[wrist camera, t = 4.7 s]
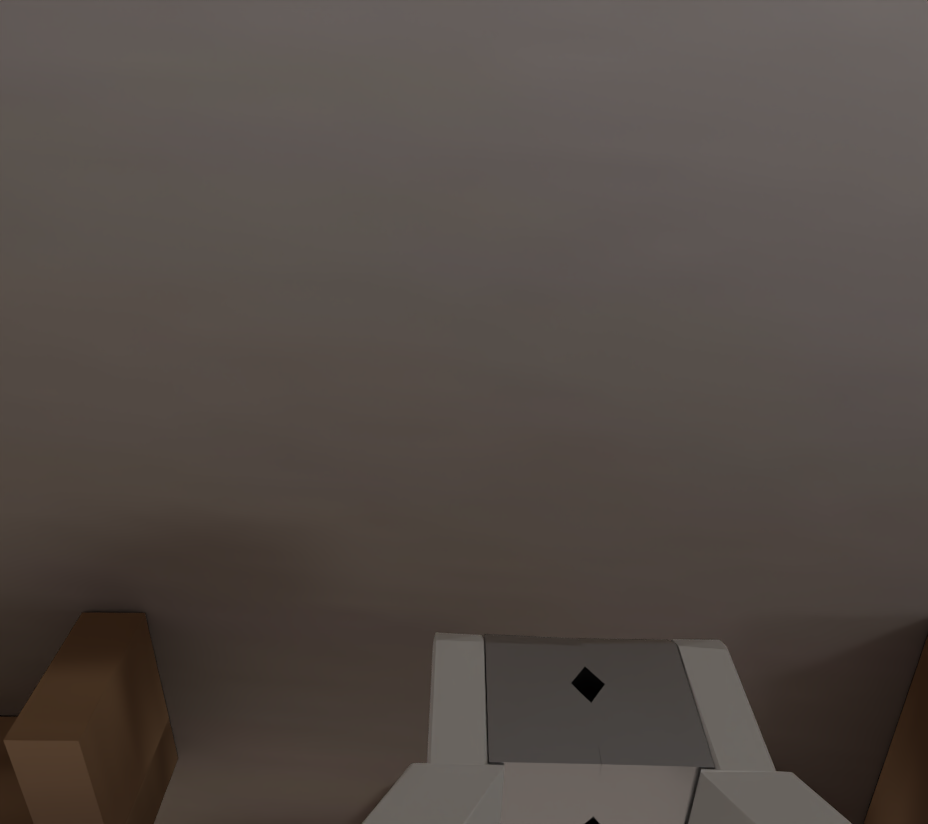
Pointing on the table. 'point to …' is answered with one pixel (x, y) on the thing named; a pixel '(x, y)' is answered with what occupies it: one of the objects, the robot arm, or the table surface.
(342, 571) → the table surface
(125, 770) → the channel
